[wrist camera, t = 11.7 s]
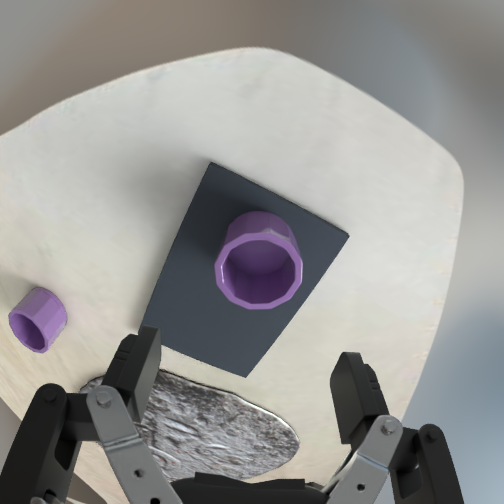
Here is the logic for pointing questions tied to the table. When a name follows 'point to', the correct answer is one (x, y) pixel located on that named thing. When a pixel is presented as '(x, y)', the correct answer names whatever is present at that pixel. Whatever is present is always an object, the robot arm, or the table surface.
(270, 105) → the table surface
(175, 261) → the mat
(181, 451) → the ancient coin
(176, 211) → the table surface
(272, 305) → the purple hollow cylinder
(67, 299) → the table surface
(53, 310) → the purple faceted cup
